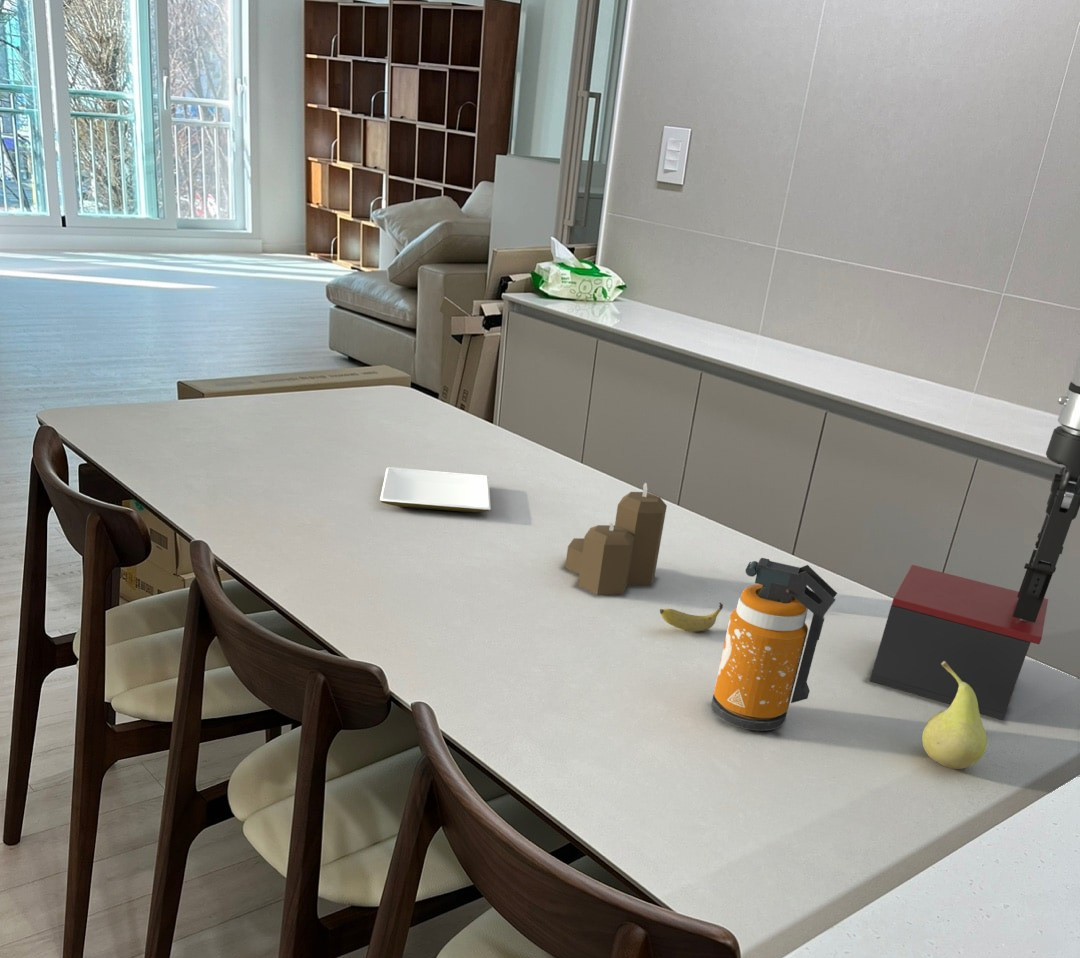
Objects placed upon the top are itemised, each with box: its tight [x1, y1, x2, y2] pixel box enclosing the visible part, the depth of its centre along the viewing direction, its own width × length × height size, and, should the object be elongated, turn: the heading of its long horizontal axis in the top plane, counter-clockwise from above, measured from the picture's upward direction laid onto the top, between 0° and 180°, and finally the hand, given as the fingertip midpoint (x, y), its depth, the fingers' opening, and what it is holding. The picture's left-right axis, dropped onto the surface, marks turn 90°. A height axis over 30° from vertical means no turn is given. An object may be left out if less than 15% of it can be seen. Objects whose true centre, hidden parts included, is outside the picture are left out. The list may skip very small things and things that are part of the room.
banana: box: [659, 602, 724, 633], centre depth 148 cm, size 10×2×4 cm, turn 113°
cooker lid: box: [891, 561, 1049, 645], centre depth 137 cm, size 18×15×8 cm
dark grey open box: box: [869, 604, 1032, 721], centre depth 141 cm, size 17×15×11 cm
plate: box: [379, 466, 492, 514], centre depth 187 cm, size 19×19×2 cm
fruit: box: [921, 661, 988, 770], centre depth 121 cm, size 7×8×12 cm
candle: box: [564, 482, 667, 596], centre depth 160 cm, size 14×14×15 cm
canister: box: [710, 557, 838, 731], centre depth 123 cm, size 9×11×20 cm
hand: (1026, 608), depth 136 cm, fingers closed on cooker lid, 7 cm apart
